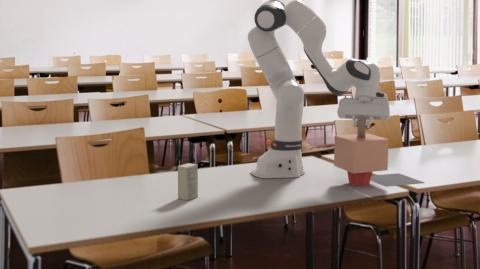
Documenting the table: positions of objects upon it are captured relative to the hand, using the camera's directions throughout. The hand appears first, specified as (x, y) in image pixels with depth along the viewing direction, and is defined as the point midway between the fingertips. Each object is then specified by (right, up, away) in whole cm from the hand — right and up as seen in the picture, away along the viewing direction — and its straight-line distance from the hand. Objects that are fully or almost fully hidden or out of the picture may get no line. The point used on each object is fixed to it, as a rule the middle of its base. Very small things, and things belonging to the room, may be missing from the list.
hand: (361, 126), depth 262 cm
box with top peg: (0, -16, +3) cm, 16 cm away
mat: (+15, -22, +11) cm, 28 cm away
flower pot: (0, -23, +4) cm, 23 cm away
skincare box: (-65, -26, -17) cm, 73 cm away
